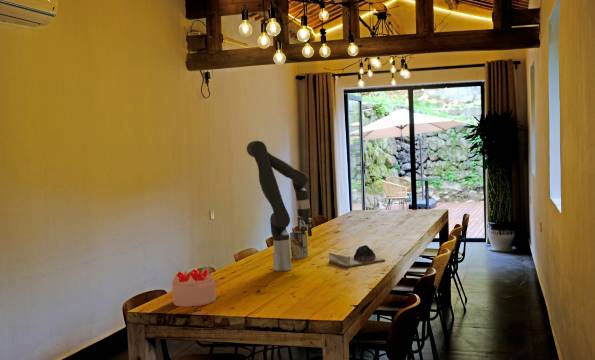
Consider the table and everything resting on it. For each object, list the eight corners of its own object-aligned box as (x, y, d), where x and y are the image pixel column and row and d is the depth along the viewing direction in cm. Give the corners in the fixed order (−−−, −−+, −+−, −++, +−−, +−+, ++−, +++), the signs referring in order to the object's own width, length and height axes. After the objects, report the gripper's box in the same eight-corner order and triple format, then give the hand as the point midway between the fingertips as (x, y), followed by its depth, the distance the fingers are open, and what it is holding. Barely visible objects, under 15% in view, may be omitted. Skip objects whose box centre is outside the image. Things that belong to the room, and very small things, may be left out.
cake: (218, 295, 293) (215, 266, 292) (213, 305, 273) (211, 274, 272) (177, 298, 292) (175, 269, 292) (170, 309, 272) (167, 277, 272)
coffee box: (308, 256, 382) (307, 231, 381) (304, 258, 377) (302, 232, 376) (295, 256, 386) (294, 231, 386) (291, 258, 381) (289, 232, 380)
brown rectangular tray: (366, 256, 367) (365, 246, 367) (385, 261, 349) (384, 250, 349) (328, 262, 355) (328, 252, 355) (346, 267, 337) (345, 256, 337)
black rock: (362, 259, 364) (359, 242, 364) (381, 258, 356) (378, 241, 355) (350, 264, 354) (347, 248, 353) (370, 264, 345) (366, 246, 345)
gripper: (291, 208, 354) (295, 235, 355) (303, 209, 341) (306, 237, 343) (303, 206, 357) (306, 233, 359) (314, 207, 345) (318, 235, 346)
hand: (306, 235), depth 351 cm, fingers open, 8 cm apart
